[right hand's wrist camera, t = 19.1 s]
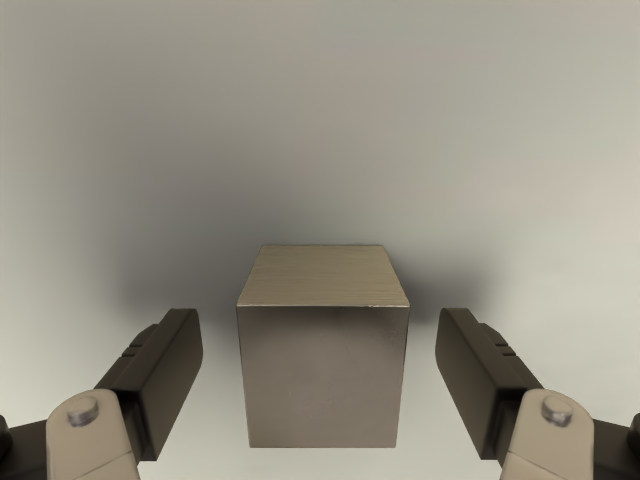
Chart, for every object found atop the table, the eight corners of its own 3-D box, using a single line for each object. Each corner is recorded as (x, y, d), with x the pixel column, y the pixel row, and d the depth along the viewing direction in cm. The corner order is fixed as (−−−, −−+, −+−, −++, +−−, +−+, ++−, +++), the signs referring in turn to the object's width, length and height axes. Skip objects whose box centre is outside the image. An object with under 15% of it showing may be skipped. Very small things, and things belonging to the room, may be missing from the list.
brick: (268, 356, 14) (248, 448, 10) (261, 244, 12) (234, 304, 8) (375, 356, 14) (395, 448, 10) (382, 245, 12) (410, 304, 8)
